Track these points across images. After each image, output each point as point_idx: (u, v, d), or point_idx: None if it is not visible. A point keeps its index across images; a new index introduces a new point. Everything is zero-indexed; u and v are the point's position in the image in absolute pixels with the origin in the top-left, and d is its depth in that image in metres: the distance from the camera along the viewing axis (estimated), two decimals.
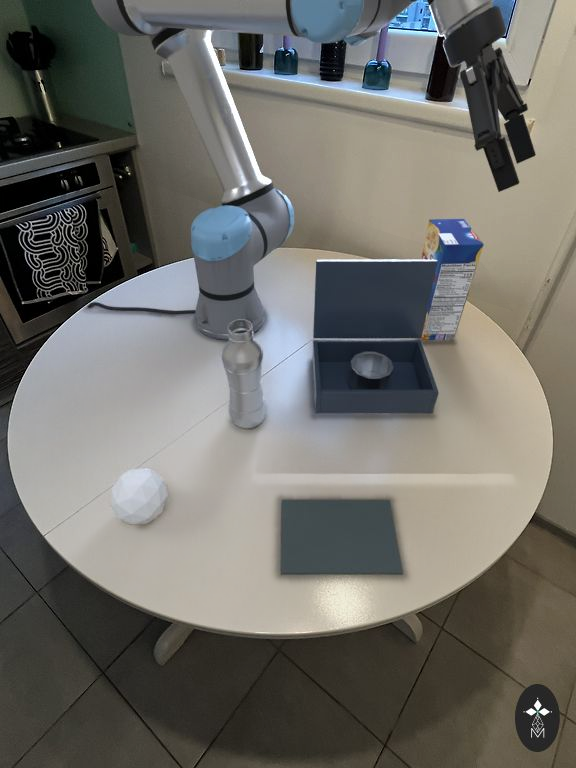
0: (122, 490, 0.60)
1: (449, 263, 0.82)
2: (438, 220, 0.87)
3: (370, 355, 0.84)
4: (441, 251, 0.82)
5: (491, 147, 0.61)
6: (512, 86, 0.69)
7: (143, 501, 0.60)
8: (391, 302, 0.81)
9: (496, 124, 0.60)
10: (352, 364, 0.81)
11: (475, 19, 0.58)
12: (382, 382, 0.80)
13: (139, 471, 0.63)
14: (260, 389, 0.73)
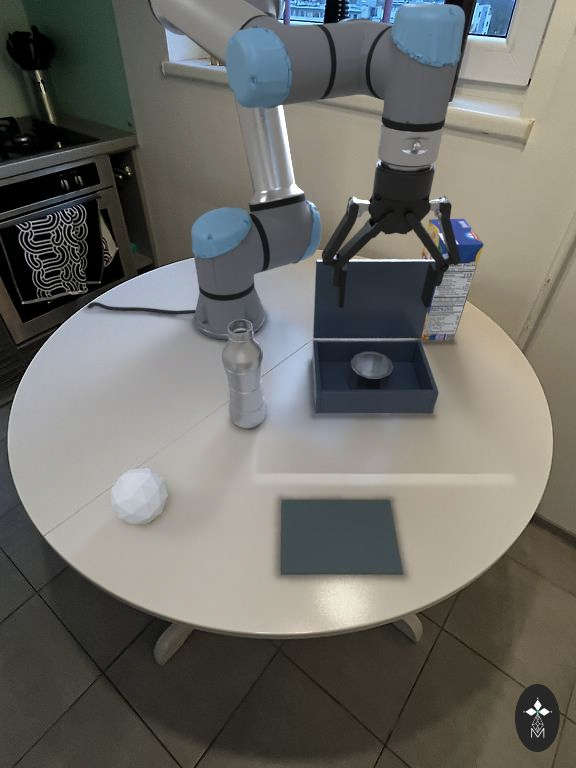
0: (122, 490, 0.60)
1: None
2: None
3: (370, 355, 0.84)
4: (441, 251, 0.82)
5: None
6: (446, 242, 0.64)
7: (143, 501, 0.60)
8: (391, 302, 0.81)
9: (342, 257, 0.66)
10: (352, 364, 0.81)
11: (382, 169, 0.57)
12: (382, 382, 0.80)
13: (139, 471, 0.63)
14: (260, 389, 0.73)
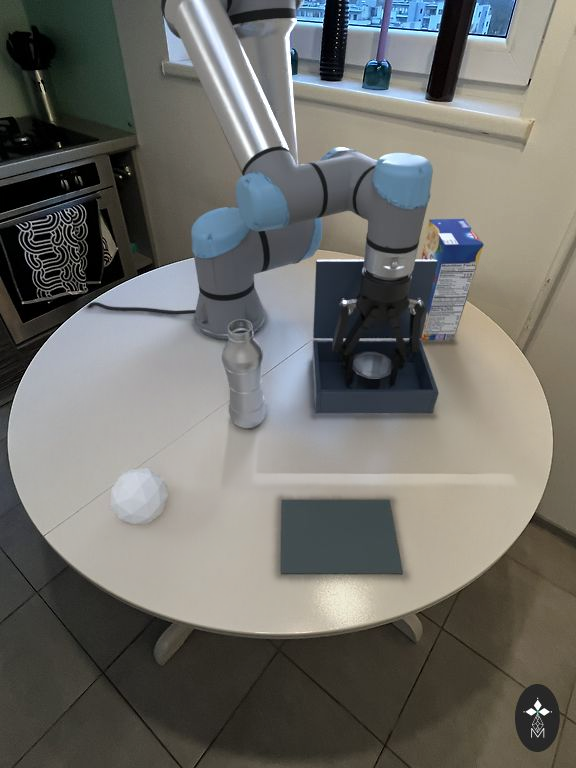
0: (122, 490, 0.60)
1: (449, 263, 0.82)
2: (438, 220, 0.87)
3: (370, 355, 0.84)
4: (441, 251, 0.82)
5: None
6: (412, 335, 0.75)
7: (143, 501, 0.60)
8: None
9: (347, 347, 0.77)
10: None
11: (367, 277, 0.67)
12: (382, 382, 0.80)
13: (139, 471, 0.63)
14: (260, 389, 0.73)
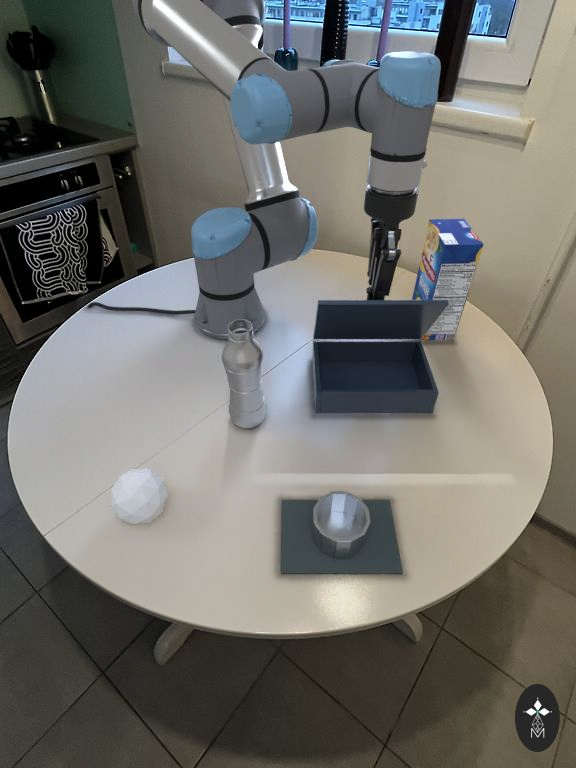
0: (122, 490, 0.60)
1: (449, 263, 0.82)
2: (438, 220, 0.87)
3: (340, 496, 0.62)
4: (441, 251, 0.82)
5: (378, 296, 0.76)
6: None
7: (143, 501, 0.60)
8: (394, 323, 0.79)
9: None
10: (314, 515, 0.59)
11: (407, 197, 0.63)
12: (355, 543, 0.58)
13: (139, 471, 0.63)
14: (260, 389, 0.73)
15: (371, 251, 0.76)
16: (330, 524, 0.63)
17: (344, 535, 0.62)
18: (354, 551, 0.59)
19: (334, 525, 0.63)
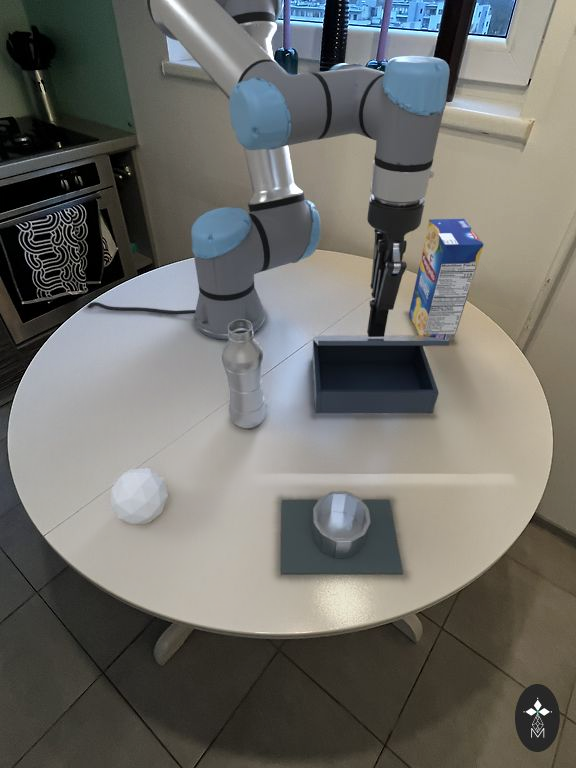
0: (122, 490, 0.60)
1: (449, 263, 0.82)
2: (438, 220, 0.87)
3: (340, 496, 0.62)
4: (441, 251, 0.82)
5: (382, 310, 0.73)
6: None
7: (143, 501, 0.60)
8: None
9: None
10: (314, 515, 0.59)
11: (413, 208, 0.60)
12: (355, 543, 0.58)
13: (139, 471, 0.63)
14: (260, 389, 0.73)
15: (374, 263, 0.73)
16: (330, 524, 0.63)
17: (344, 535, 0.62)
18: (354, 551, 0.59)
19: (334, 525, 0.63)
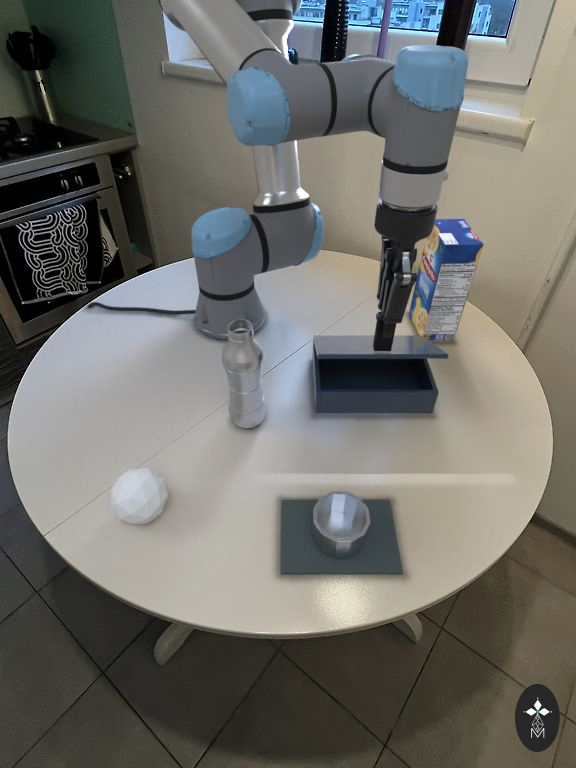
0: (122, 490, 0.60)
1: (449, 263, 0.82)
2: (438, 220, 0.87)
3: (340, 496, 0.62)
4: (441, 251, 0.82)
5: (389, 323, 0.67)
6: None
7: (143, 501, 0.60)
8: None
9: None
10: (314, 515, 0.59)
11: (425, 214, 0.55)
12: (355, 543, 0.58)
13: (139, 471, 0.63)
14: (260, 389, 0.73)
15: (381, 272, 0.67)
16: (330, 524, 0.63)
17: (344, 535, 0.62)
18: (354, 551, 0.59)
19: (334, 525, 0.63)
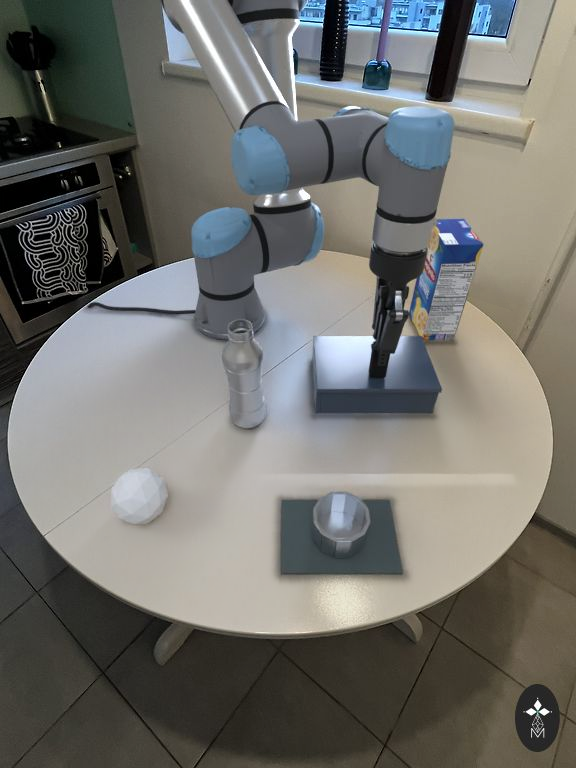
0: (122, 490, 0.60)
1: (449, 263, 0.82)
2: (438, 220, 0.87)
3: (340, 496, 0.62)
4: (441, 251, 0.82)
5: None
6: None
7: (143, 501, 0.60)
8: None
9: None
10: (314, 515, 0.59)
11: (416, 257, 0.59)
12: (355, 543, 0.58)
13: (139, 471, 0.63)
14: (260, 389, 0.73)
15: (376, 304, 0.71)
16: (330, 524, 0.63)
17: (344, 535, 0.62)
18: (354, 551, 0.59)
19: (334, 525, 0.63)
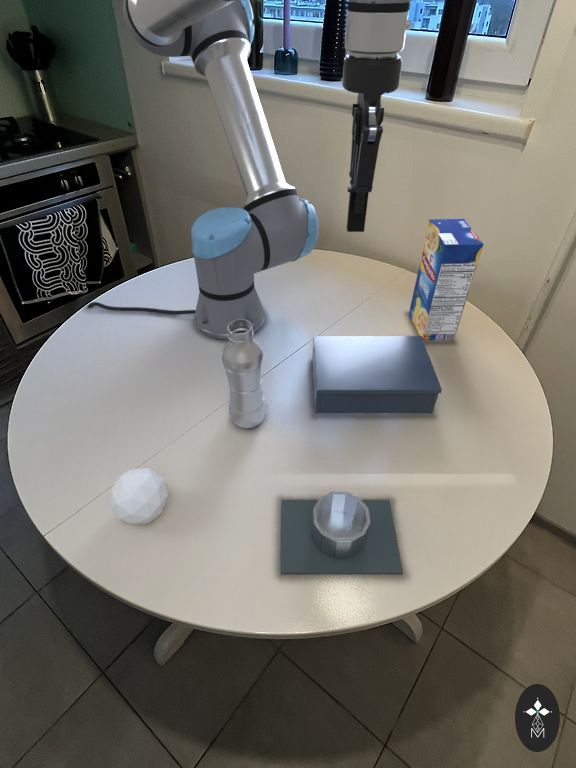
0: (122, 490, 0.60)
1: (449, 263, 0.82)
2: (438, 220, 0.87)
3: (340, 496, 0.62)
4: (441, 251, 0.82)
5: (360, 195, 0.69)
6: None
7: (143, 501, 0.60)
8: None
9: None
10: (314, 515, 0.59)
11: (389, 61, 0.56)
12: (355, 543, 0.58)
13: (139, 471, 0.63)
14: (260, 389, 0.73)
15: (353, 146, 0.69)
16: (330, 524, 0.63)
17: (344, 535, 0.62)
18: (354, 551, 0.59)
19: (334, 525, 0.63)
